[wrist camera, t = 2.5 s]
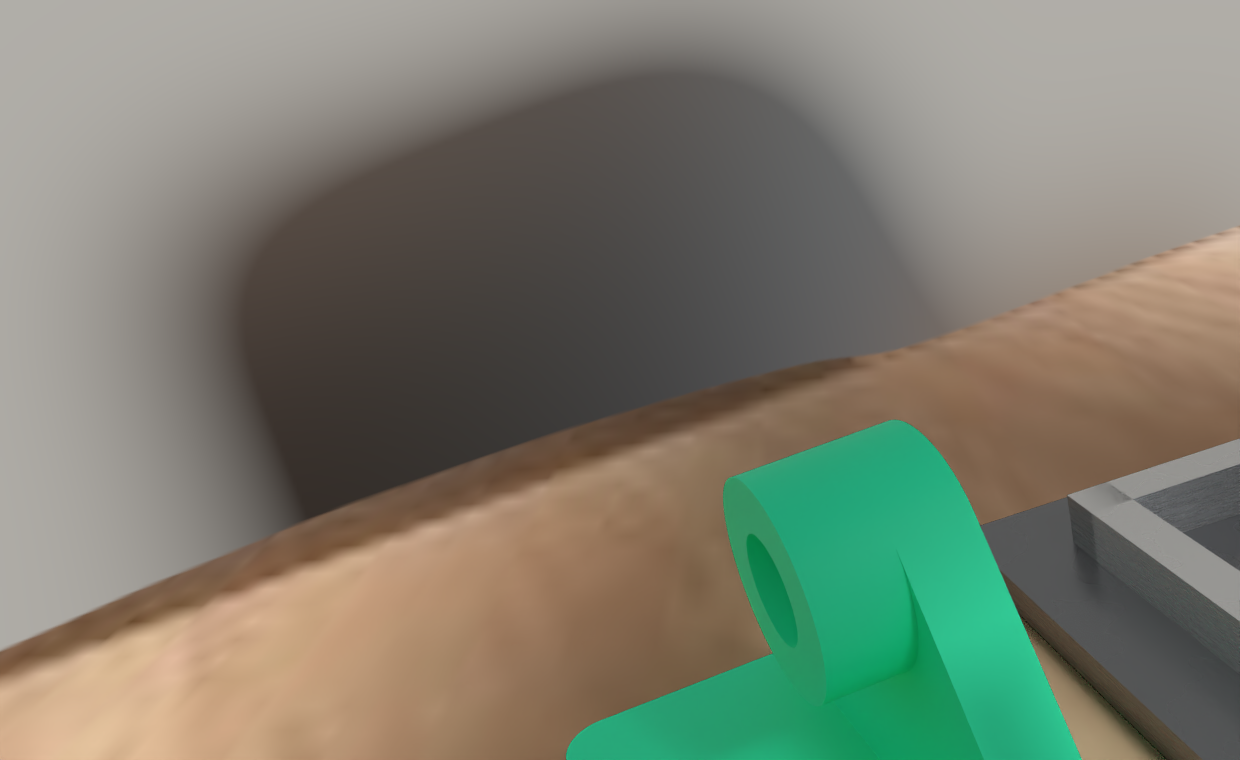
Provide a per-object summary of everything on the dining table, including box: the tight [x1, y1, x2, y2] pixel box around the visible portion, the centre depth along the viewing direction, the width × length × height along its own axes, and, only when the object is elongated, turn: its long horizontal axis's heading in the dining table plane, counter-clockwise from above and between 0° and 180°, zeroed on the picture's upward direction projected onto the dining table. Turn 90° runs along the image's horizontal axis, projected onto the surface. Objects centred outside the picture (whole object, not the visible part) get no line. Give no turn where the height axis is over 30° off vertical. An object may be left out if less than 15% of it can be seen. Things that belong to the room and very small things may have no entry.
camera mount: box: [566, 420, 1082, 760], centre depth 22 cm, size 12×8×10 cm, turn 15°
